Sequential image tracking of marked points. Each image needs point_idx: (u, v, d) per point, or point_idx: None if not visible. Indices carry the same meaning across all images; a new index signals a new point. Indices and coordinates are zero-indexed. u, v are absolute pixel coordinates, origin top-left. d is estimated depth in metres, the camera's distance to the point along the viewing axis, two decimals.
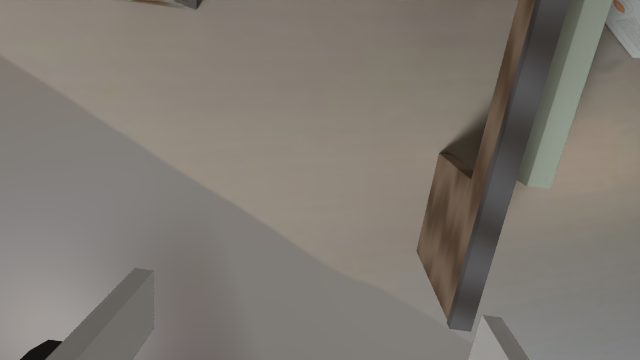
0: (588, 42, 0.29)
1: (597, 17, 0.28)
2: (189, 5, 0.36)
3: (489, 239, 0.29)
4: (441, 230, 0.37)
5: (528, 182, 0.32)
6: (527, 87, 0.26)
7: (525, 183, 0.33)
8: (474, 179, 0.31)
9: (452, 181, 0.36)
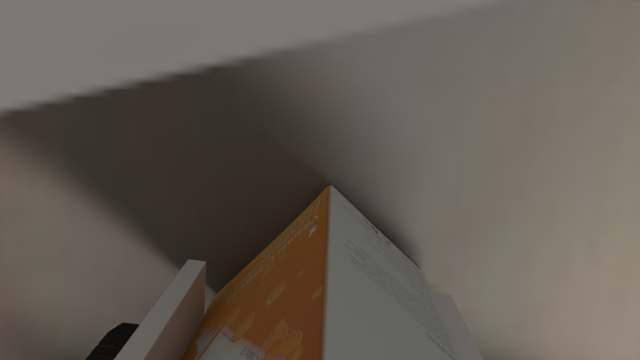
0: None
1: None
2: None
3: None
4: None
5: None
6: None
7: None
8: None
9: None
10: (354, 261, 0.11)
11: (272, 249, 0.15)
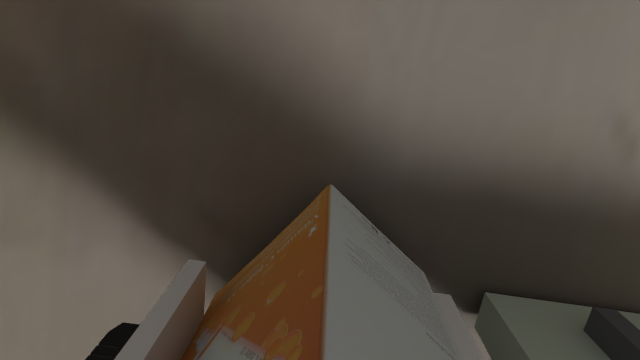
0: None
1: None
2: None
3: None
4: None
5: None
6: None
7: None
8: None
9: None
10: (353, 260, 0.11)
11: (272, 249, 0.15)
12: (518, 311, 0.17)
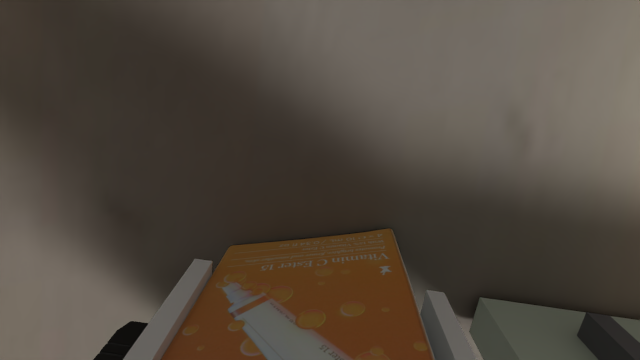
0: None
1: None
2: None
3: None
4: None
5: None
6: None
7: None
8: None
9: None
10: None
11: (319, 249, 0.17)
12: (512, 316, 0.17)
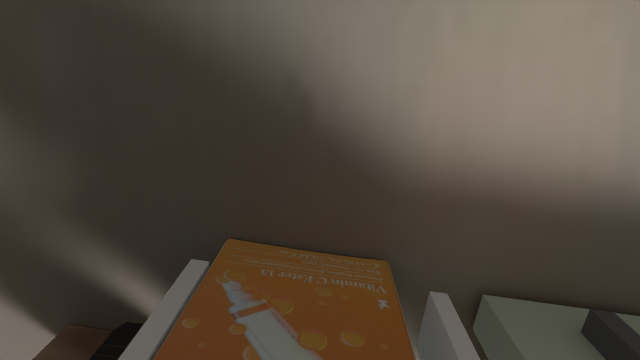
0: None
1: None
2: None
3: None
4: None
5: None
6: None
7: None
8: None
9: None
10: None
11: (319, 266, 0.17)
12: (516, 313, 0.17)
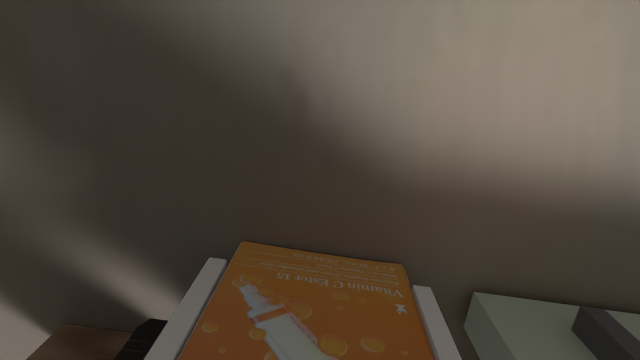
0: None
1: None
2: None
3: None
4: None
5: None
6: None
7: None
8: None
9: None
10: None
11: (334, 269, 0.17)
12: (506, 310, 0.17)
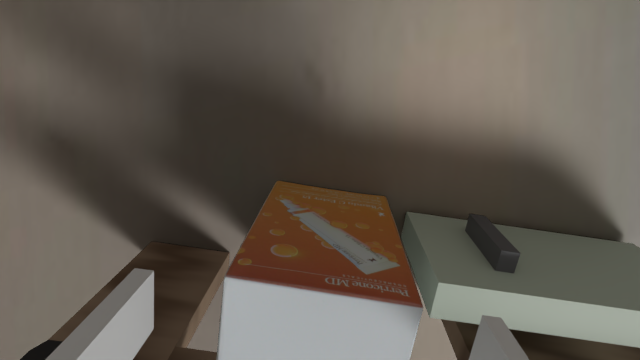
0: (521, 308, 0.18)
1: (485, 301, 0.18)
2: None
3: None
4: None
5: None
6: None
7: None
8: None
9: None
10: None
11: (339, 196, 0.25)
12: (425, 220, 0.25)
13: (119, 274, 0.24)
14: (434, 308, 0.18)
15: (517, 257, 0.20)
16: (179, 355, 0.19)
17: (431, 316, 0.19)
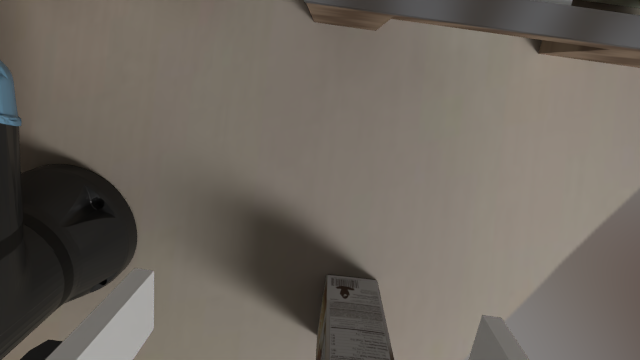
0: None
1: None
2: (378, 289, 0.43)
3: None
4: None
5: None
6: (530, 19, 0.23)
7: None
8: (613, 48, 0.27)
9: (592, 53, 0.31)
10: None
11: None
12: None
13: None
14: None
15: None
16: None
17: None
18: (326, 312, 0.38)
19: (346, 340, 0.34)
